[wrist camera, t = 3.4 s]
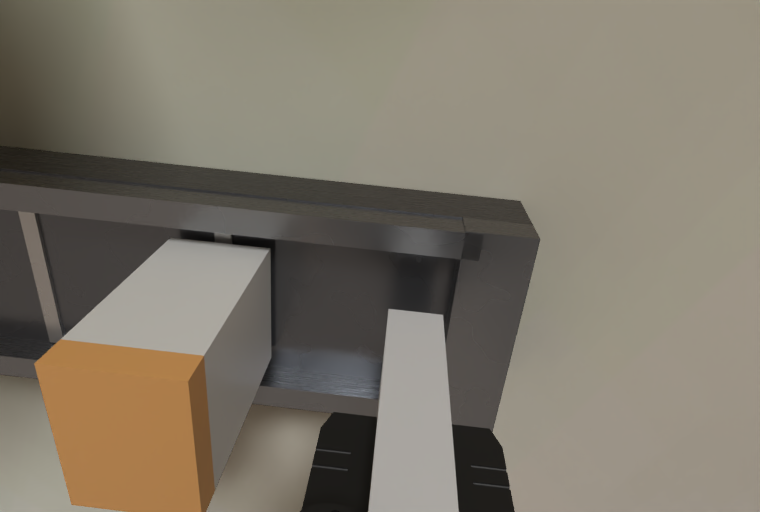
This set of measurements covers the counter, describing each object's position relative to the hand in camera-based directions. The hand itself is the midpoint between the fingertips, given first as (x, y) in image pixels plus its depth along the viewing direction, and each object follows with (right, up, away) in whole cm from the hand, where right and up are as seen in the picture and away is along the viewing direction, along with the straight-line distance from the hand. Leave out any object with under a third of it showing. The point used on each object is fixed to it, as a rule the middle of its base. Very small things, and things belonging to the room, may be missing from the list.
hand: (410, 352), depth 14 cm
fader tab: (-6, +1, +2) cm, 6 cm away
